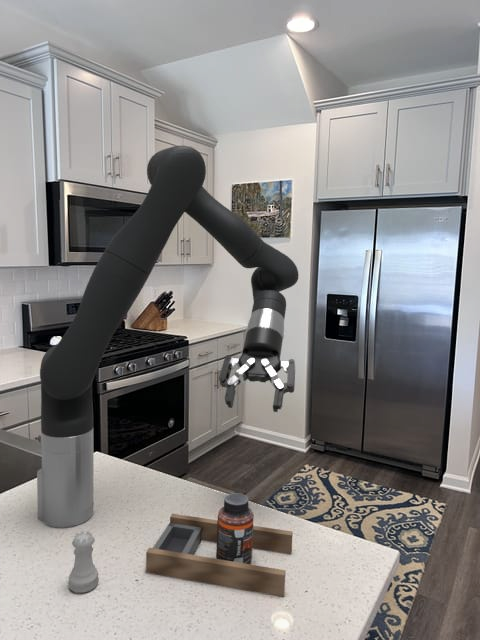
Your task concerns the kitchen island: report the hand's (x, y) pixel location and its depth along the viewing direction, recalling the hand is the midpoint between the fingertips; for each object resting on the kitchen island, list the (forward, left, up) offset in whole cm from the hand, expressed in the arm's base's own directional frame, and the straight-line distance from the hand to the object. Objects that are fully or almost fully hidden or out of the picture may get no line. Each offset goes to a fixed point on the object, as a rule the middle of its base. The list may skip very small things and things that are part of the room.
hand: (252, 408), depth 87 cm
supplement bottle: (0, -11, -23) cm, 26 cm away
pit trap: (-10, -11, -23) cm, 28 cm away
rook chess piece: (-21, -22, -23) cm, 38 cm away
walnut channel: (-2, -11, -23) cm, 26 cm away
